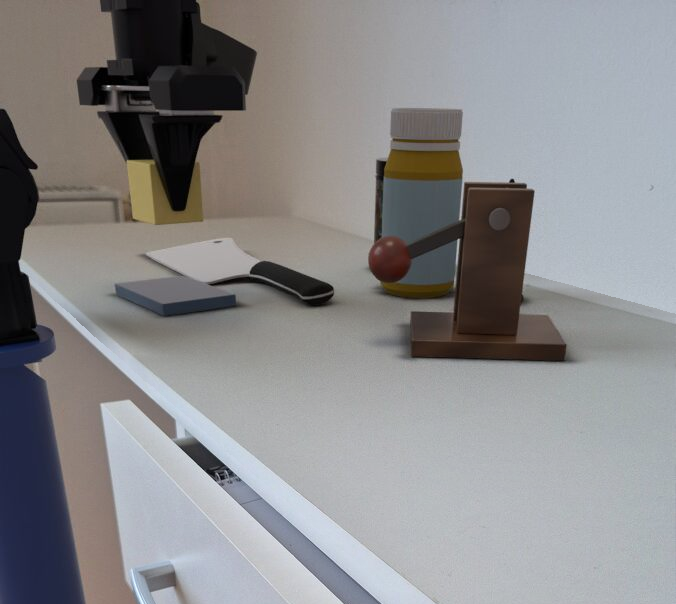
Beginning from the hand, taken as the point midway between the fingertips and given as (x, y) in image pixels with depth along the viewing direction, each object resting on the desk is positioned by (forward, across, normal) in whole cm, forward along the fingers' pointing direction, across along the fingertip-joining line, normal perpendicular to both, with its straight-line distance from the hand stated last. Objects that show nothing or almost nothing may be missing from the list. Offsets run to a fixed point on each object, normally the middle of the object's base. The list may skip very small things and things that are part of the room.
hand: (166, 207), depth 70 cm
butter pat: (+1, 0, 0) cm, 1 cm away
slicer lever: (+2, -24, -11) cm, 26 cm away
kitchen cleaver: (+8, +7, -10) cm, 15 cm away
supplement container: (+8, 0, -27) cm, 28 cm away
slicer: (+8, -26, -13) cm, 30 cm away
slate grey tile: (+8, 0, 0) cm, 8 cm away
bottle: (+8, -9, -21) cm, 24 cm away
